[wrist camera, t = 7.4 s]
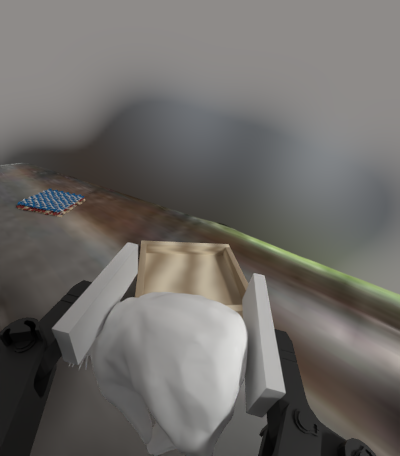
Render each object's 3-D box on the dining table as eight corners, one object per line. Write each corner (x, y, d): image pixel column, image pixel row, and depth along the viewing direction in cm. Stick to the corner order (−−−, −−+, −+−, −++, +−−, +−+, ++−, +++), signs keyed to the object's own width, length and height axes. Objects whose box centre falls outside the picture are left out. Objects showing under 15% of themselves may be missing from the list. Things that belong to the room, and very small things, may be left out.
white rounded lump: (235, 449, 5) (-8, 288, 9) (205, 507, 9) (45, 378, 13) (266, 292, 10) (102, 232, 14) (238, 374, 14) (116, 309, 18)
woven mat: (14, 210, 44) (11, 202, 43) (49, 194, 53) (47, 187, 52) (60, 219, 44) (58, 212, 43) (87, 202, 53) (86, 195, 52)
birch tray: (224, 255, 43) (228, 244, 42) (254, 322, 30) (261, 309, 28) (141, 252, 39) (141, 240, 37) (132, 330, 25) (132, 316, 24)
